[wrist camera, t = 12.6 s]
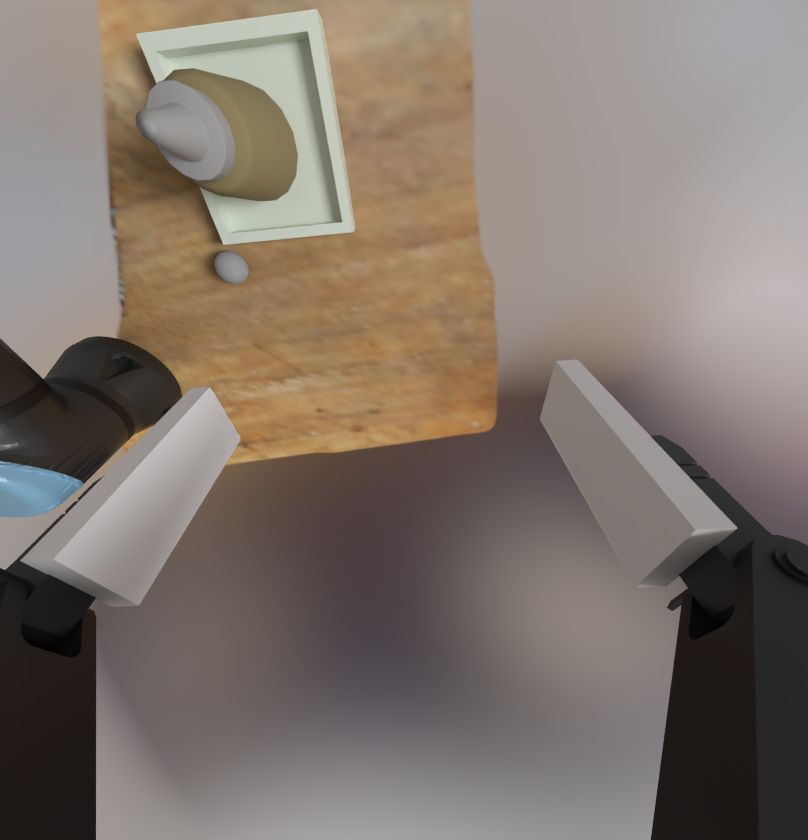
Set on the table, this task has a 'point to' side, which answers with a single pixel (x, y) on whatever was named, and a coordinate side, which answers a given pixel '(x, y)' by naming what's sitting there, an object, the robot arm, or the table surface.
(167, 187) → the table surface
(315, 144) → the tray
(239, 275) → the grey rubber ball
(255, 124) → the squeeze bottle
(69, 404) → the robot arm
